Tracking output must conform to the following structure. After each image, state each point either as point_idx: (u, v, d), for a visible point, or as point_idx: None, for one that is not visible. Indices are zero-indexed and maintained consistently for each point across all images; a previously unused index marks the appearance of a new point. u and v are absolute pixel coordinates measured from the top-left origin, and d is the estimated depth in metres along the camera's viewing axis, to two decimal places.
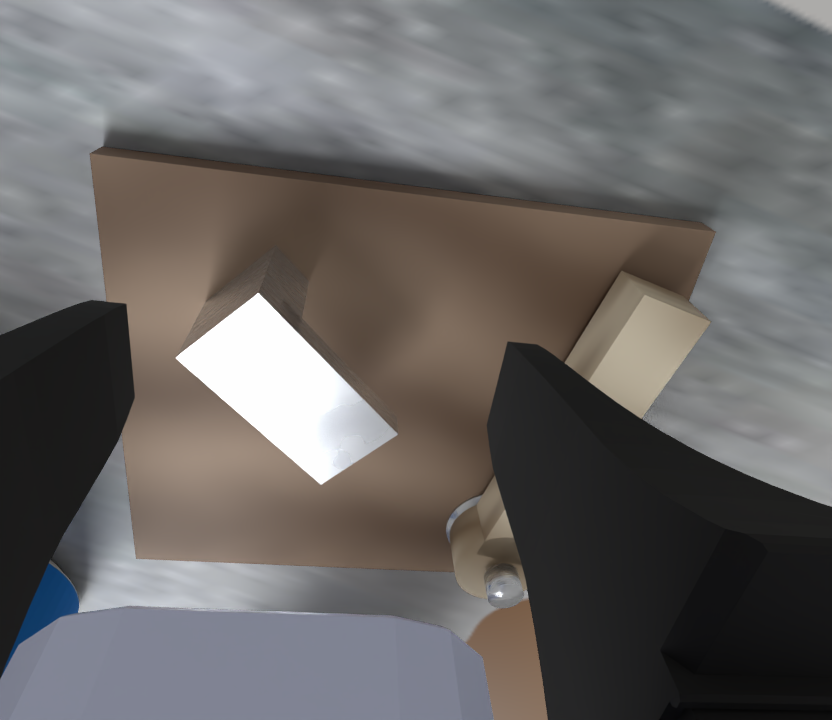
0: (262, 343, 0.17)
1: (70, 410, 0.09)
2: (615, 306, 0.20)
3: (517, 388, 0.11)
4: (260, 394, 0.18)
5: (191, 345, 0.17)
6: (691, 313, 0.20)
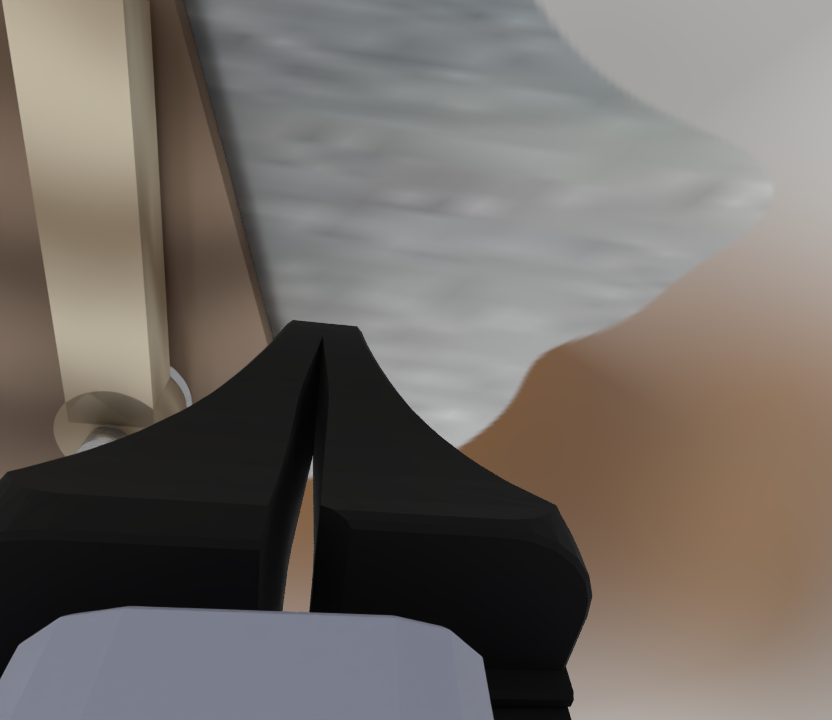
0: None
1: (306, 428, 0.10)
2: None
3: (321, 371, 0.11)
4: None
5: None
6: None
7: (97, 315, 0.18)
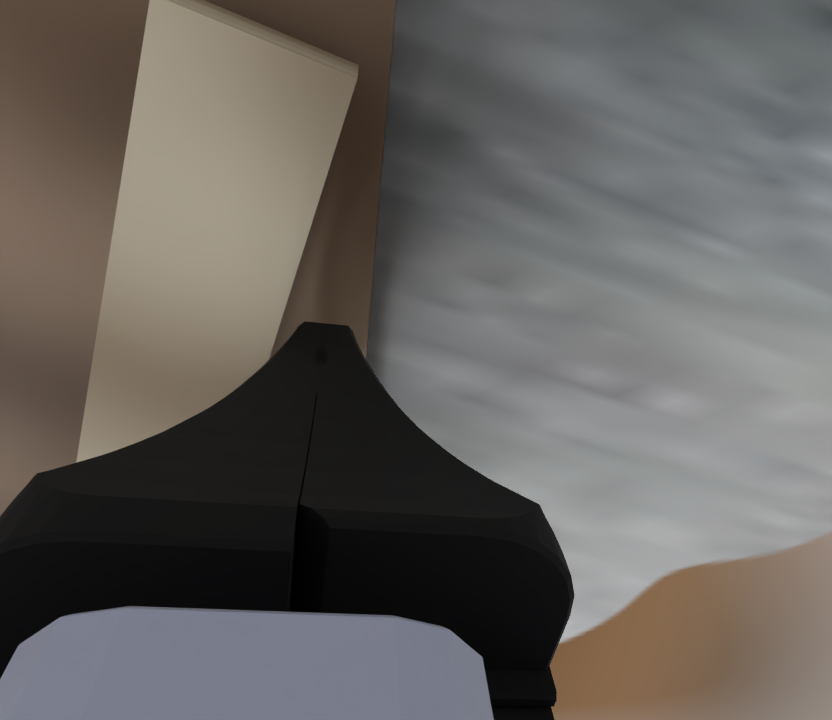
0: None
1: None
2: None
3: None
4: None
5: None
6: (303, 56, 0.08)
7: None
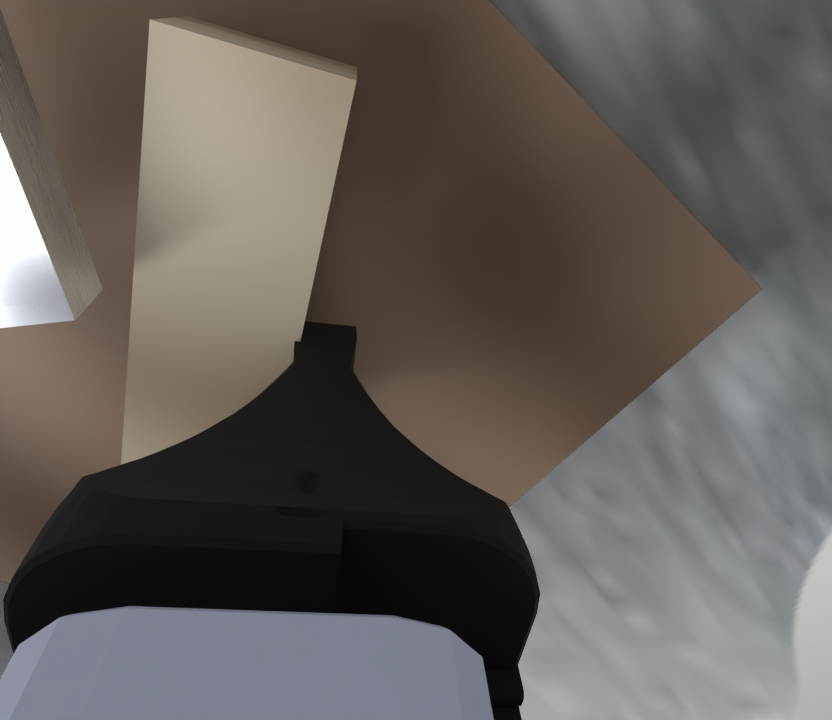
0: None
1: None
2: None
3: None
4: None
5: None
6: (301, 64, 0.08)
7: None
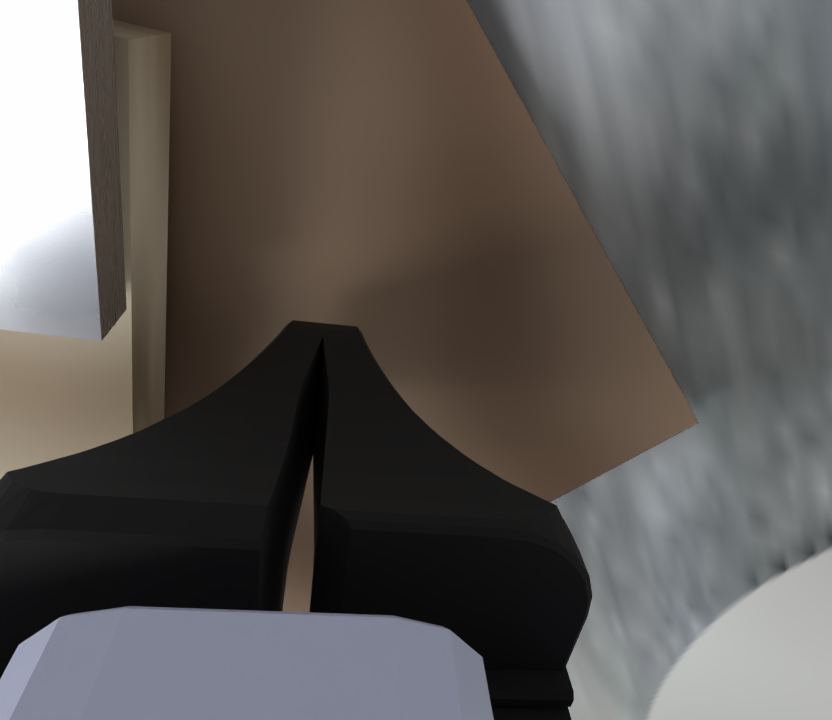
0: None
1: (306, 428, 0.10)
2: None
3: (321, 371, 0.11)
4: None
5: None
6: None
7: None
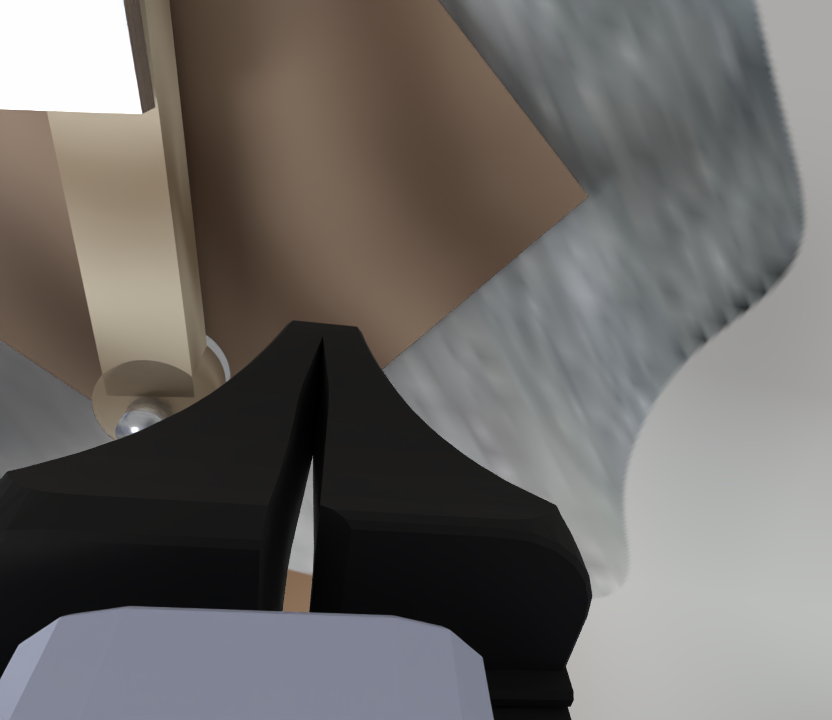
0: None
1: (306, 428, 0.10)
2: None
3: (321, 371, 0.11)
4: None
5: None
6: None
7: (128, 278, 0.17)
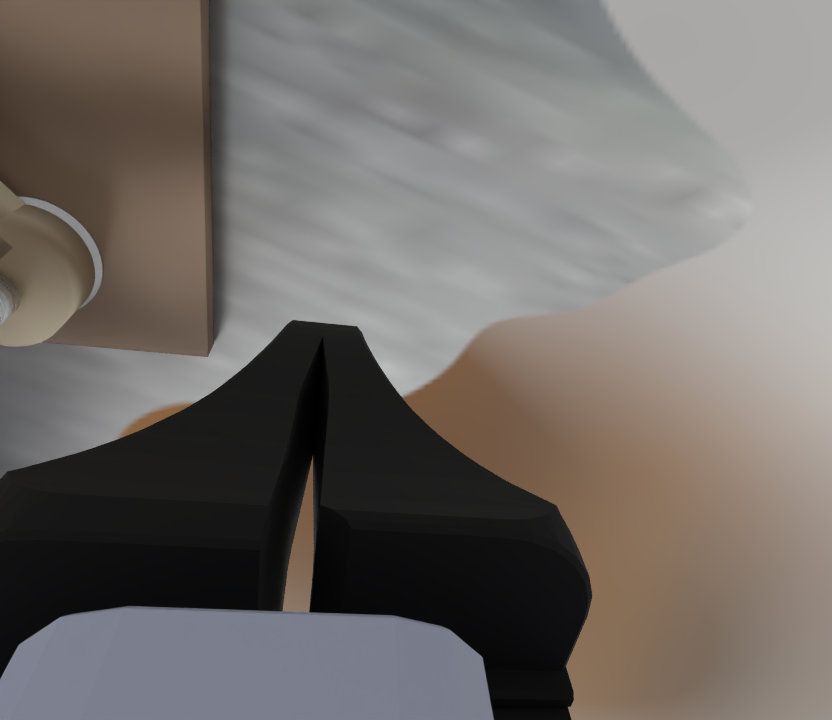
0: None
1: (306, 428, 0.10)
2: None
3: (321, 371, 0.11)
4: None
5: None
6: None
7: None
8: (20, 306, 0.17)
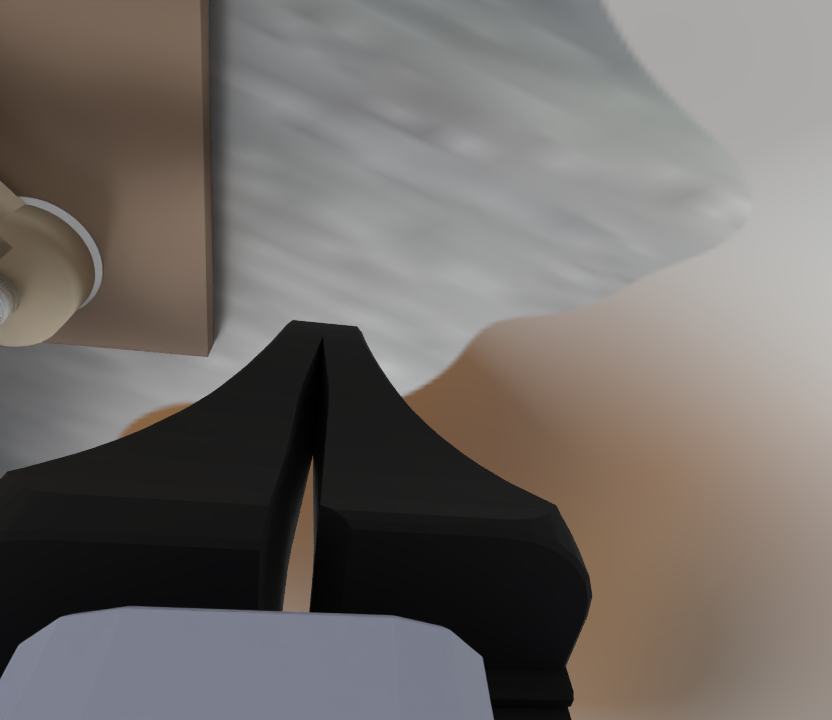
0: None
1: (306, 428, 0.10)
2: None
3: (321, 371, 0.11)
4: None
5: None
6: None
7: None
8: (20, 306, 0.17)
